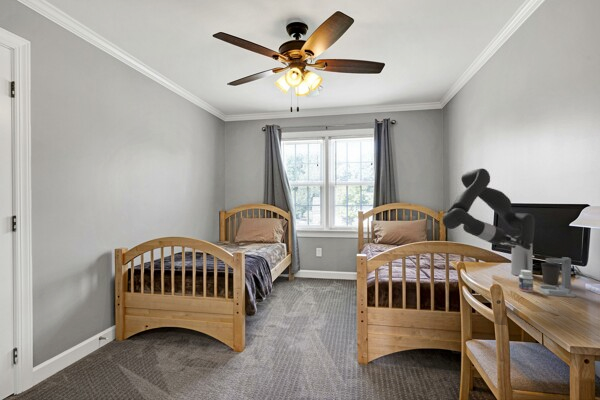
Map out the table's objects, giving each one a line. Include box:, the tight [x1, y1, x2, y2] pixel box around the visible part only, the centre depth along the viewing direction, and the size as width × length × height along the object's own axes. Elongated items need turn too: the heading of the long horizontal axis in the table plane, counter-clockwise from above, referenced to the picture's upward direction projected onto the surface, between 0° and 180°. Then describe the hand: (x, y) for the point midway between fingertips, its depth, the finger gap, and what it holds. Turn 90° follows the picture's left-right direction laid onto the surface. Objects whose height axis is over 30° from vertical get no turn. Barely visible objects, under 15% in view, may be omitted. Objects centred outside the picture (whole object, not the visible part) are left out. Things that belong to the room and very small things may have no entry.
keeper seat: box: [536, 256, 576, 298], centre depth 135 cm, size 10×10×16 cm
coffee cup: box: [540, 261, 562, 286], centre depth 149 cm, size 8×8×10 cm
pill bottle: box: [518, 270, 534, 293], centre depth 138 cm, size 5×5×9 cm
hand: (522, 246), depth 134 cm, fingers open, 8 cm apart
